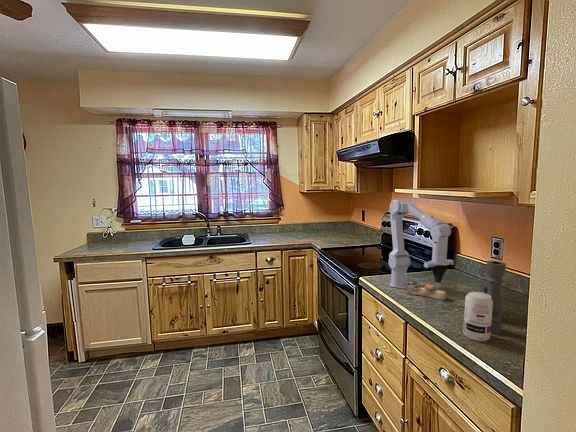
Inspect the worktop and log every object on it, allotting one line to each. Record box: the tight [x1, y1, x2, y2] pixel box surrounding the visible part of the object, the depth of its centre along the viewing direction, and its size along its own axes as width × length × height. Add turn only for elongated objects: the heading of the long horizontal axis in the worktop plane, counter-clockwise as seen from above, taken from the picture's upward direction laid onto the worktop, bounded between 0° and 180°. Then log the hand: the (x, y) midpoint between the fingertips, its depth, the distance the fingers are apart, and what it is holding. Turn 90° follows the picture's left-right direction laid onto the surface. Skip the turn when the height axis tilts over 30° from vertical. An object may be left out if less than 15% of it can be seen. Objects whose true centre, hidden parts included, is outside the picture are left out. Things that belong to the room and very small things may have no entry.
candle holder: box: [485, 260, 507, 335], centre depth 116 cm, size 6×6×25 cm
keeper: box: [423, 283, 435, 290], centre depth 151 cm, size 3×6×5 cm, turn 142°
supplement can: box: [462, 291, 493, 342], centre depth 112 cm, size 8×8×15 cm
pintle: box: [409, 280, 418, 288], centre depth 154 cm, size 3×3×6 cm
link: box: [406, 283, 447, 301], centre depth 151 cm, size 16×5×3 cm, turn 52°
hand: (437, 281), depth 142 cm, fingers closed
